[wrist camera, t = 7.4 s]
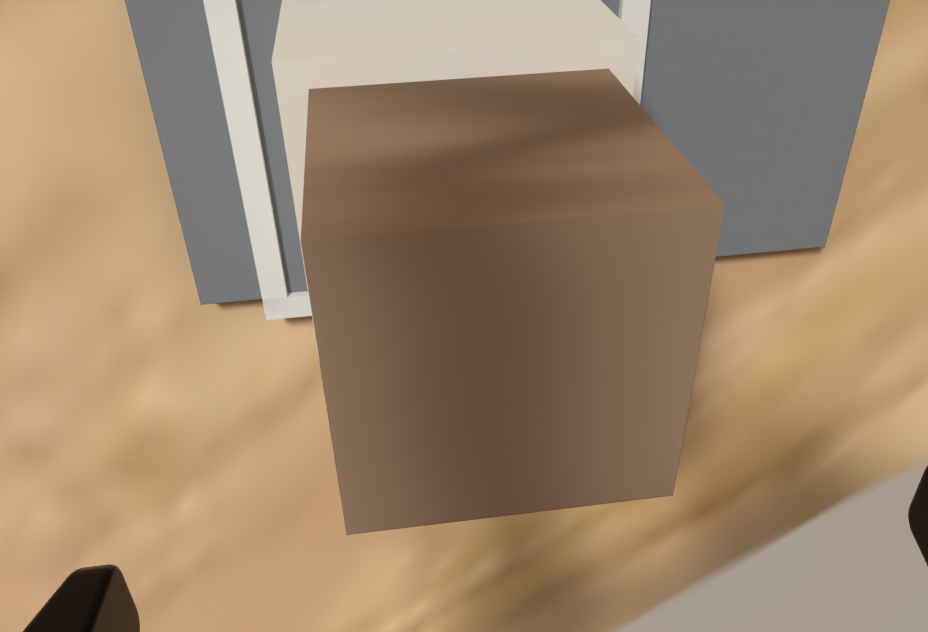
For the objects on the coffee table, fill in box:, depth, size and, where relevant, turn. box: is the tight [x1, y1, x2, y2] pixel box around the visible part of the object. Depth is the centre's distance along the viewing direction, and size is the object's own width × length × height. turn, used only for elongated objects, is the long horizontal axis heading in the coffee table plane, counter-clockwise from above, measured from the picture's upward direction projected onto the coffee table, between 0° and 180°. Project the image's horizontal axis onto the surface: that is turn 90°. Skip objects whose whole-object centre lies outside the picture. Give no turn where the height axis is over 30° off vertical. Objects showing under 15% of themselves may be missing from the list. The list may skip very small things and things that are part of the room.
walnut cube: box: [301, 69, 725, 535], centre depth 13 cm, size 5×5×5 cm
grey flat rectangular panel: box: [125, 0, 890, 320], centre depth 18 cm, size 16×12×1 cm
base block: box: [271, 0, 639, 359], centre depth 17 cm, size 6×6×4 cm
